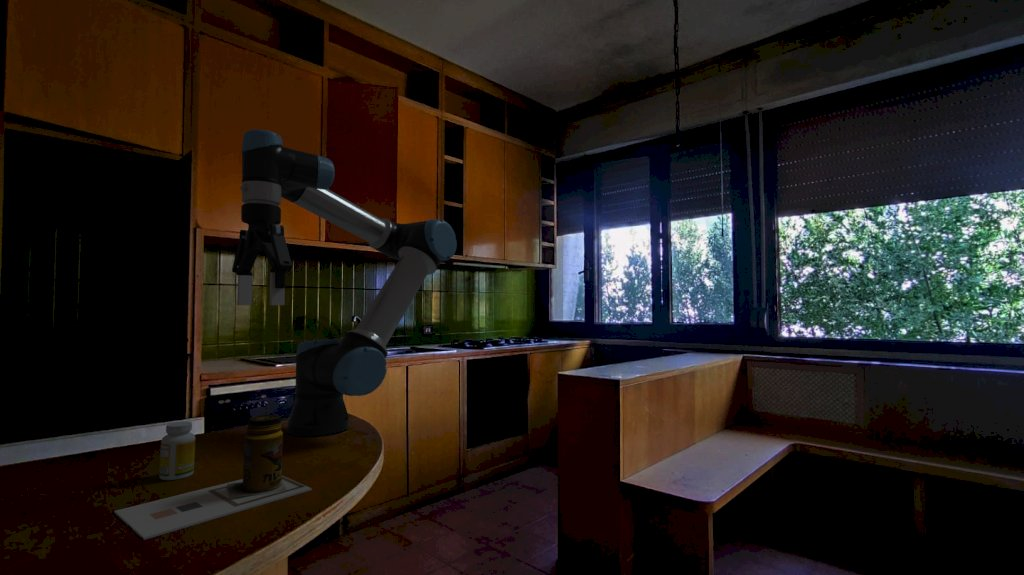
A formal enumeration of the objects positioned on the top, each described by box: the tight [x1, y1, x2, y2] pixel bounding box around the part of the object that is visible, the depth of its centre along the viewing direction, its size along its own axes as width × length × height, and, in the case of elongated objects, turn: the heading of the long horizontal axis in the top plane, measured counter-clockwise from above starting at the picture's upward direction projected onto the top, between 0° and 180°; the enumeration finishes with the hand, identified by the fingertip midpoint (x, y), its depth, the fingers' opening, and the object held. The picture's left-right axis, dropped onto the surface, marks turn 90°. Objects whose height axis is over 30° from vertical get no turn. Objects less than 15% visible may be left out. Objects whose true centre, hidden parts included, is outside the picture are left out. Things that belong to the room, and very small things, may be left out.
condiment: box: [227, 414, 287, 499], centre depth 85 cm, size 7×8×12 cm
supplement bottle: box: [158, 421, 196, 481], centre depth 92 cm, size 5×5×10 cm
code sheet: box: [114, 475, 313, 541], centre depth 80 cm, size 24×14×1 cm, turn 142°
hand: (260, 305), depth 104 cm, fingers open, 13 cm apart
